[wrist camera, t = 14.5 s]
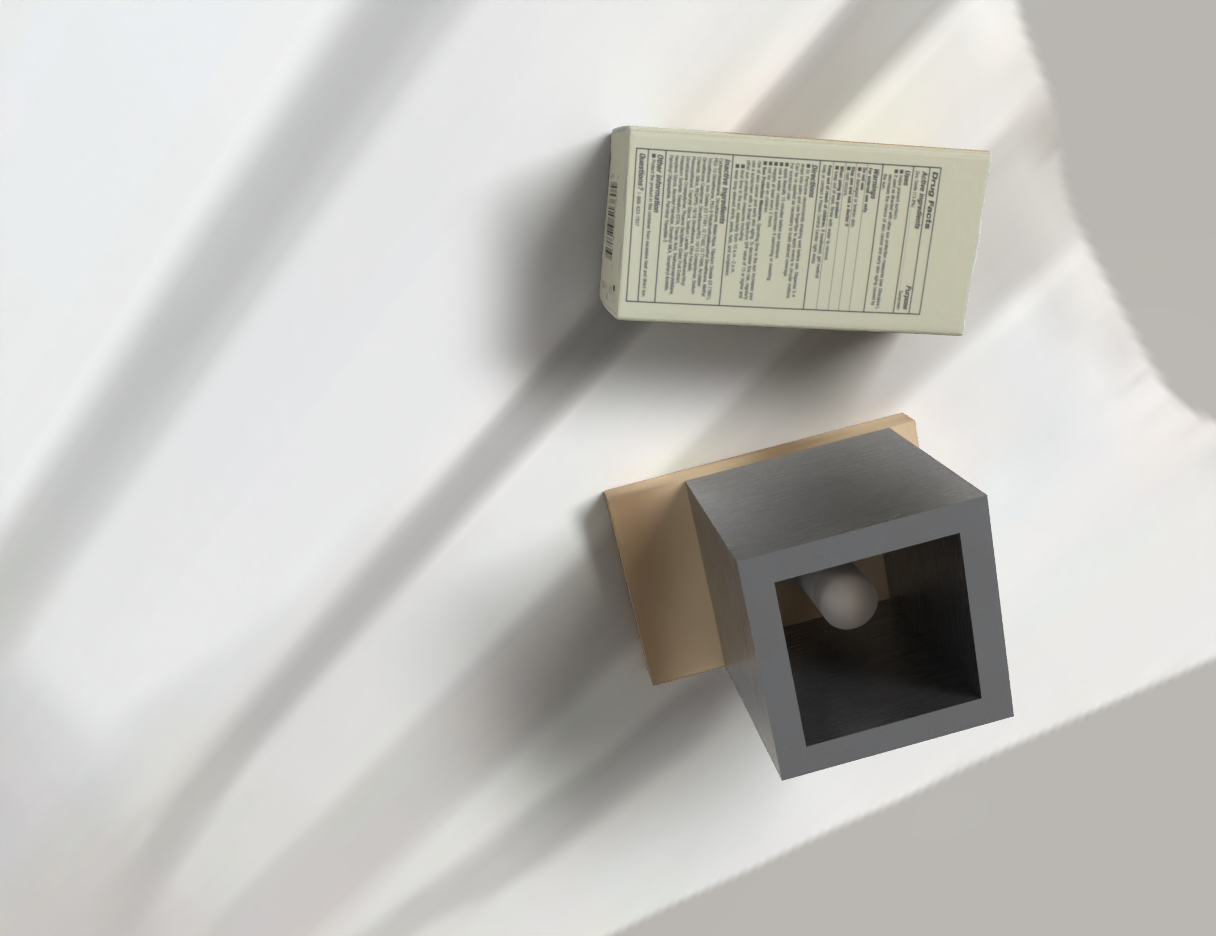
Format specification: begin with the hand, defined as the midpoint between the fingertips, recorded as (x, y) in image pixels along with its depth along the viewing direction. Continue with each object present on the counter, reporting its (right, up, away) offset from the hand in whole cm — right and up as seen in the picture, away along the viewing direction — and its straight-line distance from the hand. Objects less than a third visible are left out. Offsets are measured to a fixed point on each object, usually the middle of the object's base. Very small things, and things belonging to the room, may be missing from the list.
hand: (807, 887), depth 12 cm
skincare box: (-2, +13, +24) cm, 28 cm away
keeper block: (+4, +2, +31) cm, 31 cm away
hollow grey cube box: (+5, +1, +30) cm, 30 cm away
